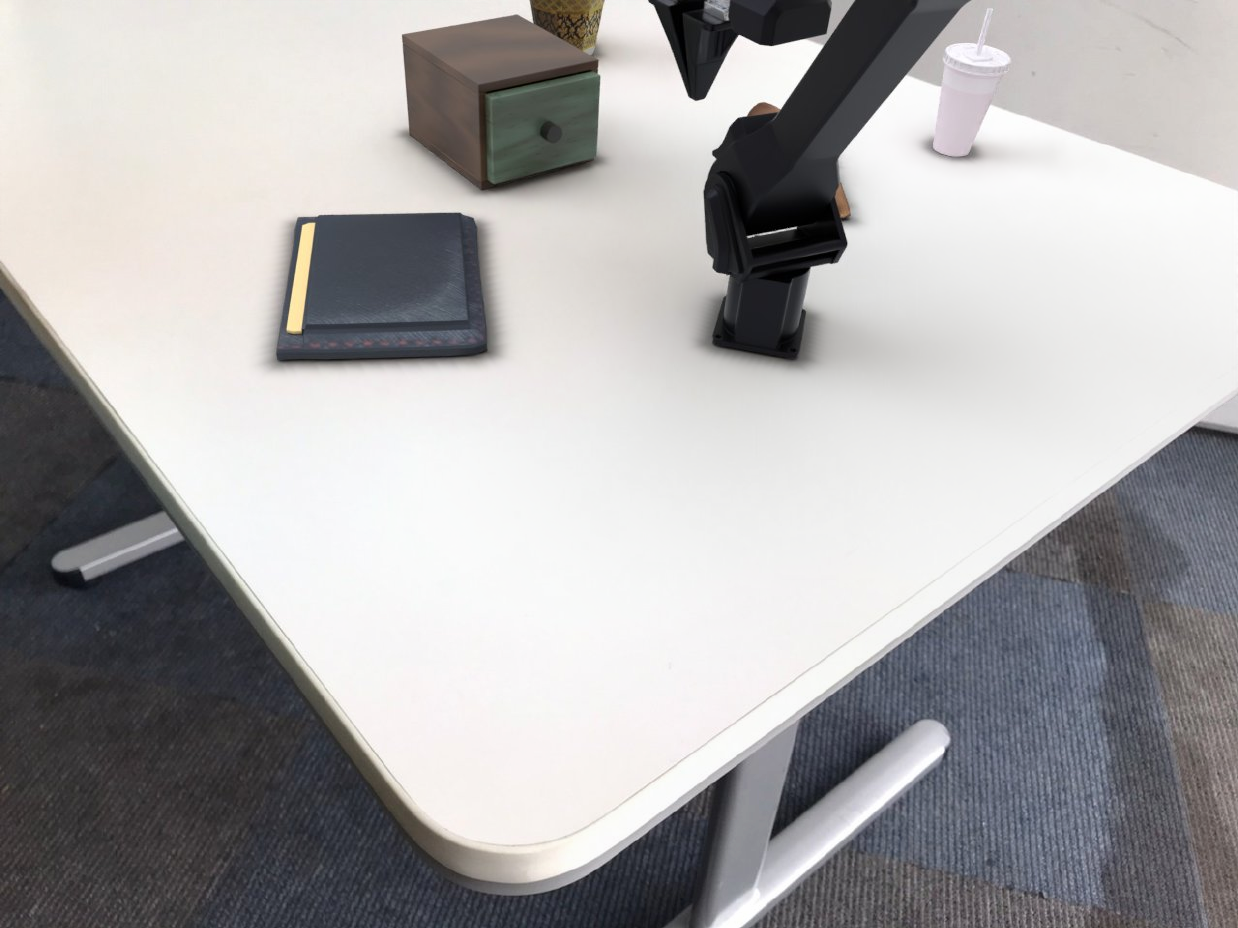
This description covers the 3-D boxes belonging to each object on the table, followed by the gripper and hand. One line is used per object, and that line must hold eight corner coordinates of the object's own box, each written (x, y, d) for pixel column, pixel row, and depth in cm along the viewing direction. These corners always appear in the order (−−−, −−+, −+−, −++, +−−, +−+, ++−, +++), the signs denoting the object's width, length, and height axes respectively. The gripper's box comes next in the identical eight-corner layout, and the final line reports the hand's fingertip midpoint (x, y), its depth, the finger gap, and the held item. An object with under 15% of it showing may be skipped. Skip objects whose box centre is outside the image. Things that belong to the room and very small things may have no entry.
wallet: (487, 335, 72) (263, 339, 70) (487, 357, 73) (267, 362, 71) (480, 201, 86) (295, 202, 84) (481, 222, 88) (299, 222, 86)
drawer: (604, 162, 96) (608, 79, 91) (500, 190, 90) (499, 104, 85) (524, 110, 104) (525, 32, 99) (425, 133, 98) (420, 51, 93)
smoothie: (912, 152, 104) (950, 9, 95) (928, 130, 109) (966, -8, 99) (974, 168, 102) (1019, 24, 93) (988, 145, 107) (1032, 6, 97)
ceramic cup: (623, 49, 121) (628, -41, 115) (576, 73, 115) (579, -21, 108) (534, 24, 126) (534, -64, 119) (484, 45, 119) (482, -47, 113)
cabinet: (594, 160, 98) (598, 59, 92) (481, 190, 92) (478, 84, 86) (517, 110, 106) (517, 14, 100) (409, 134, 100) (401, 34, 94)
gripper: (912, -110, 66) (858, 123, 76) (723, -170, 76) (699, 41, 87) (788, -94, 60) (748, 155, 71) (603, -161, 71) (592, 64, 81)
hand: (696, 98), depth 78 cm, fingers closed
